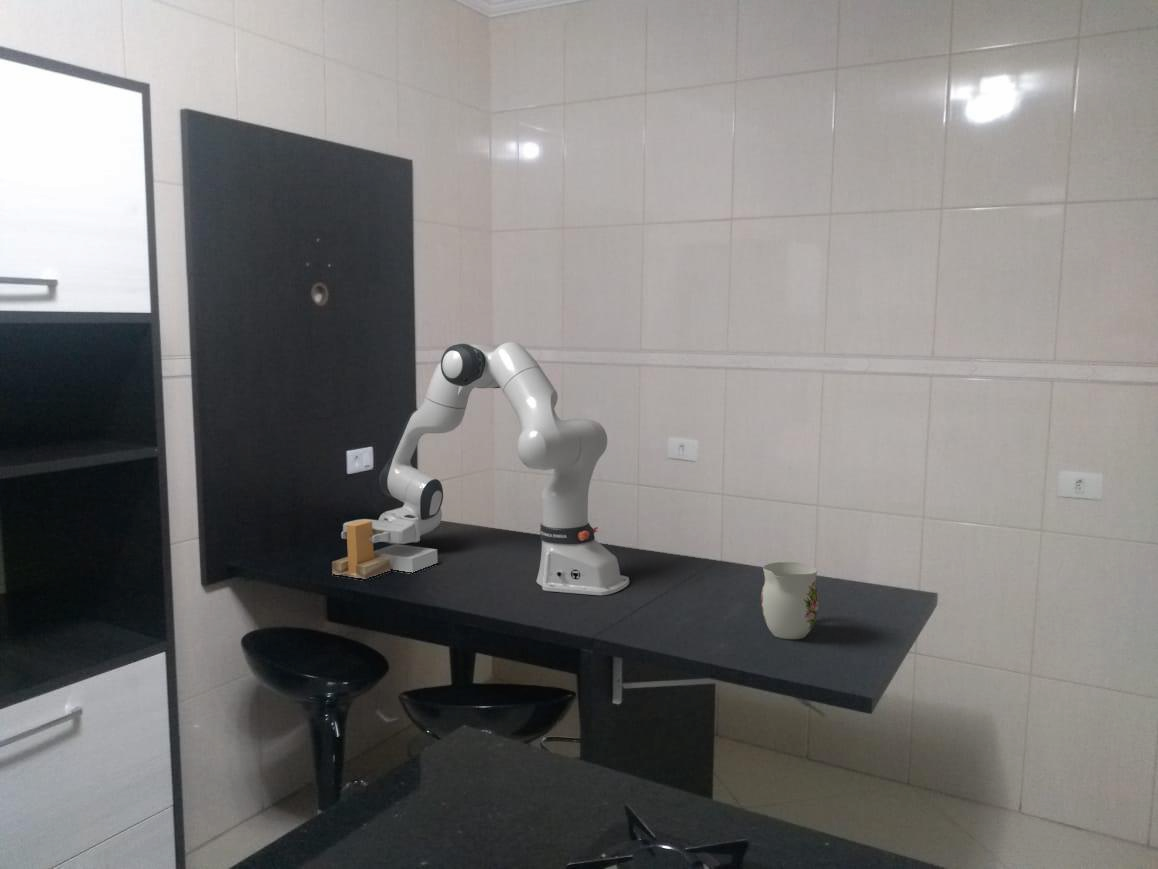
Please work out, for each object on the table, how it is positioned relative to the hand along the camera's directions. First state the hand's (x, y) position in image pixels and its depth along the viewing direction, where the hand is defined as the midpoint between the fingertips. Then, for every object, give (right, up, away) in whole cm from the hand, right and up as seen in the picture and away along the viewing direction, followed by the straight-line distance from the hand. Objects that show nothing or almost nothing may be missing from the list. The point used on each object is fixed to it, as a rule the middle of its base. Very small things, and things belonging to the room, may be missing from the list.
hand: (357, 537), depth 219 cm
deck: (+10, -8, +9) cm, 16 cm away
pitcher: (+98, -14, -46) cm, 109 cm away
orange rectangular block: (+1, -8, +2) cm, 9 cm away
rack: (+1, -9, +2) cm, 10 cm away
